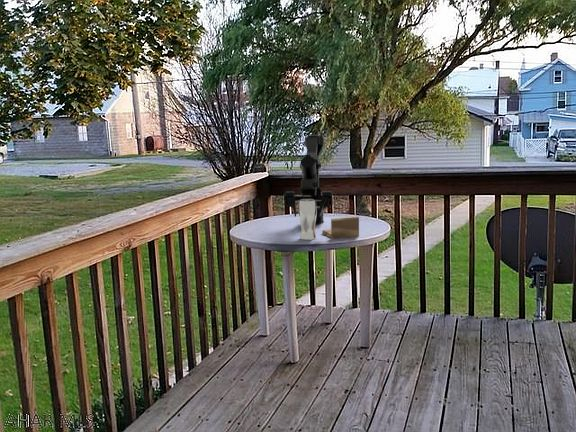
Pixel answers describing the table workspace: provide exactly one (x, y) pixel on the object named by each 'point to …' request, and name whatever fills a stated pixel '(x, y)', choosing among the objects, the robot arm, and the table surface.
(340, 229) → the cleat board
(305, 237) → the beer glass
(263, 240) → the table surface
